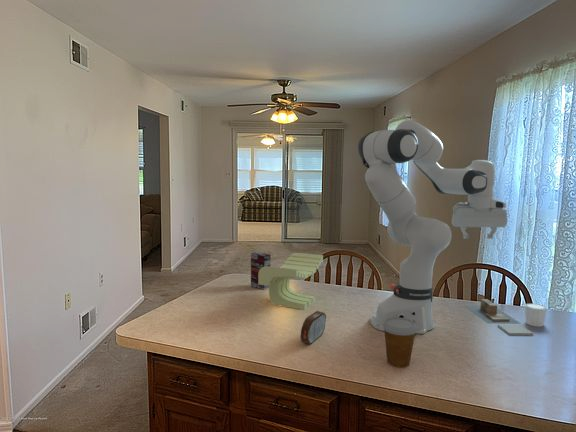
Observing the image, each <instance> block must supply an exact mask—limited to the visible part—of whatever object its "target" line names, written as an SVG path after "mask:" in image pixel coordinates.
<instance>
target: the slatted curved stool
mask: <svg viewBox="0 0 576 432" xmlns="http://www.w3.org/2000/svg"><path fill="white" fill-rule="evenodd" d="M323 261H324V255H323V254H315V253H305V252H304V253H303V252H293V253H291V254H290V255H288V257H287V258H286V260H285V261H284V262H283V264H282V265H281V266H279V267H276V266H270V267H268V266H264V267H262V268H261V269H260V270H259V273H258V284H259V285H267V286H268V287H269V288H268V297H269V300H270V302H271V303H272V305H274V306H278V305H281V306H280V307H284V306H286V307H285V308H291V307H293V308H292V309H297V308H300V309H299V310H306V309H307V308H308V307H310V306H311V305H312V304H313V303H314V302H315V301H316V298H315V295H314V296H313V295H312V296H311V295H306V294H301V293H298V292H295V291H294V290H292V289H291V287H290V281H291V280H292V279H299V280H305V279H307V278H309V277H311V276H312V275H314V274H315V273H317V270H318V269H319V266H321V265H322V263H323ZM312 302H313V303H312ZM311 303H312V304H311ZM306 307H307V308H306Z"/></svg>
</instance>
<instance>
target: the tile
mask: <svg viewBox="0 0 576 432" xmlns="http://www.w3.org/2000/svg"><path fill="white" fill-rule="evenodd" d="M497 327H498V328H499V329H500V330H502V331H503V332H504V333H506V334H507V335H508V336H534V332H532V331H531V330H529V329H528V328H526V327H525V326H524V325H522V324H512V323H497Z"/></svg>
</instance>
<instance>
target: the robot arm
mask: <svg viewBox="0 0 576 432" xmlns="http://www.w3.org/2000/svg"><path fill="white" fill-rule="evenodd" d="M357 145H358V146H357V150H358V154H359V157H360V159H361V160H362V164H363V166H365V167H366V168H367V170H366V172H365V174H364V179H365V183H366V184H367V187H368V189H369V191H370V193H371V195H372V197H373V198H374V200H375V201H376V202H377V204H378V205H379V207H380V209H381V210H382V212H384V214H385V216H386V218H387V221H388V223H387V228H386V229H387V231H386V232H387V236H388V237H389V238H390V239H391V240H392V241H394V242H396V243H398V244H401V245H403V246H407V247H410V253H409V255H408V257H406V258H404V259H403V260H402V261H401V262H400V265H399V266H400V267H399V283H398V284H395V283H391V284H390V285H389V288H390V289H391V290H392V291H393V294H392V295H390V296H389V297H387V298H386V299H384V300H383V301H381V302H380V303H379V304H378V306H377V309H376V314H371V316H370V317H369V323H370V325H371V326H372V327H373V328H374V329H376V330H378V331H382V332H385V331H384V327H383V324H384V322H385V320H386V319H388V318H393V317H399V318H406V319H409V320H412V321H414V322H415V324H416V327H417V331H416V333H415V334H419V335H420V334H421V335H423V334H425V333H427V331H431V330H432V329H433V330H434V328H435V323H434V319H433V309H432V302H433V298H434V291H433V289H434V287H433V286H432V284H433V283H432V282H433V270H434V265H435V262H436V259H437V257H438V256H439V255H440V253H441V252H442V251H444V250H445V249H446V248H447V247H448V246H449V245H450V243H451V240H452V236H453V234H452V230H451V228H450V226H449V224H447V223H446V222H444V221H442V220H439V219H436V218H432V217H425V216H420V215H418V214H417V213H416V212H415V210H414V209H415V207H416V205H417V204H416V203H417V199H416V197H415V196H414V195H413V193H412V192H411V190H410V188H409V187H408V185H407V184H406V182H405V181H404V179H403V178H402V177H401V175H400V174H399V172H398V170H397V164H404V163H407V162H410V161H411V160H412V161H413V164H414V165H415V166H416V167H417V168H418V170H420V171H421V173H423V175H425V176H426V177H427V179H428V180H429V181H430V182H431V183H432V185H433V187H434V188H435V190H436V191H437V192H438V194H441V195H466V196H467V202H456V203H455V204H454V205H453V206H452V217H451V225H452V227H456V228H460V231H461V232H462V234H463V235H462V237H463V238H462V239H465V240H467V239H470V237H469V236H470V234H469V233H467V232H466V230H467V228H490V232H489V233H487V236H486V237H487V240H488V239H489V240H493V239H494V235H495V233H496V232H497V230H498V228H505V227H506V226H507V225H508V212H507V210H506V207H507V203H506V202H504V201H500V200H498V199H496V198H495V199H494V191H493V190H494V189H493V188H494V186H495V166H494V163H493V162H492V161H489V160H485V159H474V160H472V161H471V164H469V165H468V166H466V167H464V168H448V167H443V166H441V165H440V164H439V163H438V162H439V161H440V160H441V158H442V156H443V155H442V154H443V152H444V145H443V142H442V141H441V140H440V138H439V137H438V136H437V135H436V134H435V133H434V132H433V131H431V130H430V129H428V128H427V127H426V126H424V125H423V124H421V123H419V122H417V121H415V120H412V119H406V120H403V121H401V122H400V123H398V124H397V126H396V127H395V128H394V129H381V130H377V131H371V132H368V133H366V134H364V135H363V136H362V137H361V138H360V139H359V142H358V144H357Z"/></svg>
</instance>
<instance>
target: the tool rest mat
mask: <svg viewBox="0 0 576 432" xmlns="http://www.w3.org/2000/svg"><path fill="white" fill-rule="evenodd" d="M464 307H465V308H467V309H468V310H470V311H471V312H472V313H473V314H475V316H477V317H478V318H480V319H481V320H482V321H484V322H485V323H487V324H513V325H522V324H521V322H519V321H518V320H516V319H515V318H514V317H512V316H510V315H509V314H507V313H505V312H504V311H502V310H501V309H500V308H498V307H497V314H502V315H504V316H505V317H507V318H508V319H510V321H492V320H491V319H489V318H488V317H487V316H486V314H487V313H485V312H484V311H483V310H481V309H480V307H481V305H464Z"/></svg>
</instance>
